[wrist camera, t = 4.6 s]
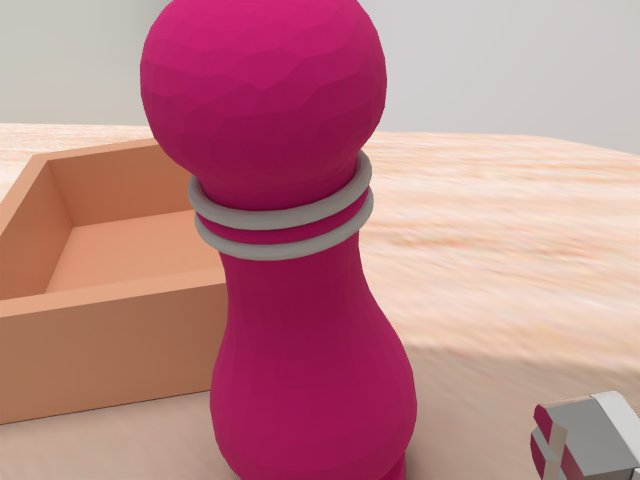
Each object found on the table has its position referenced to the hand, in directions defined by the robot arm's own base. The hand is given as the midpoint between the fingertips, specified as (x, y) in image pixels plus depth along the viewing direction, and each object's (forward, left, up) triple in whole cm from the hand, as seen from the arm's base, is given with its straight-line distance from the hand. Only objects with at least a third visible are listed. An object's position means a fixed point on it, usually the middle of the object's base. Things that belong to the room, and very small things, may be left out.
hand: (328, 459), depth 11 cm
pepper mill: (0, -7, -11) cm, 13 cm away
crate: (+7, -21, -11) cm, 25 cm away
